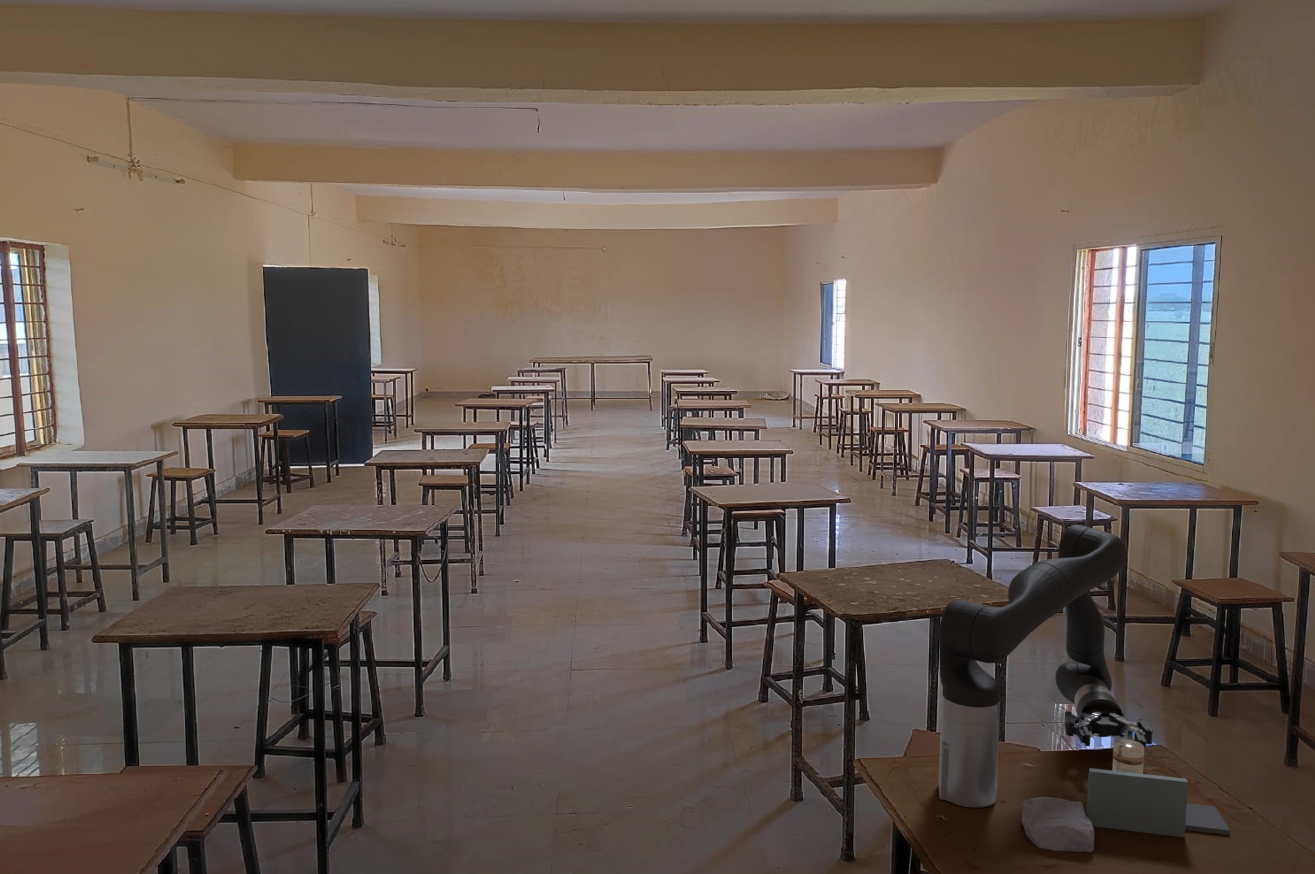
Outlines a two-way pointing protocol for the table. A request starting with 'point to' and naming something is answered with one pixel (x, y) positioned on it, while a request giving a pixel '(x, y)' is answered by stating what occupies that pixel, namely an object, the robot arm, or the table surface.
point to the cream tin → (1128, 756)
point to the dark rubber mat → (1205, 819)
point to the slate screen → (1137, 802)
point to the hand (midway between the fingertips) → (1114, 743)
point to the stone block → (1057, 824)
